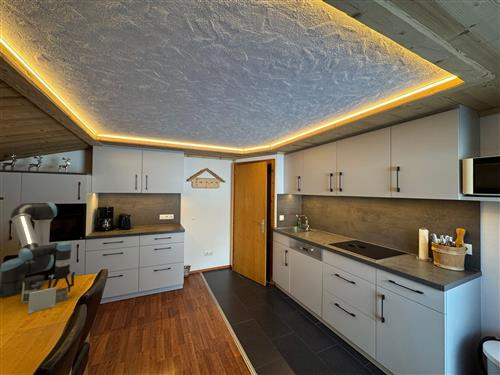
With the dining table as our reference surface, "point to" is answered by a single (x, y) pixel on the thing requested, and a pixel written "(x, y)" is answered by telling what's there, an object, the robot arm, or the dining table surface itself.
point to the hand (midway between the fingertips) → (60, 298)
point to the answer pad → (62, 300)
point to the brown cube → (61, 294)
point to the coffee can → (31, 286)
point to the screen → (41, 300)
